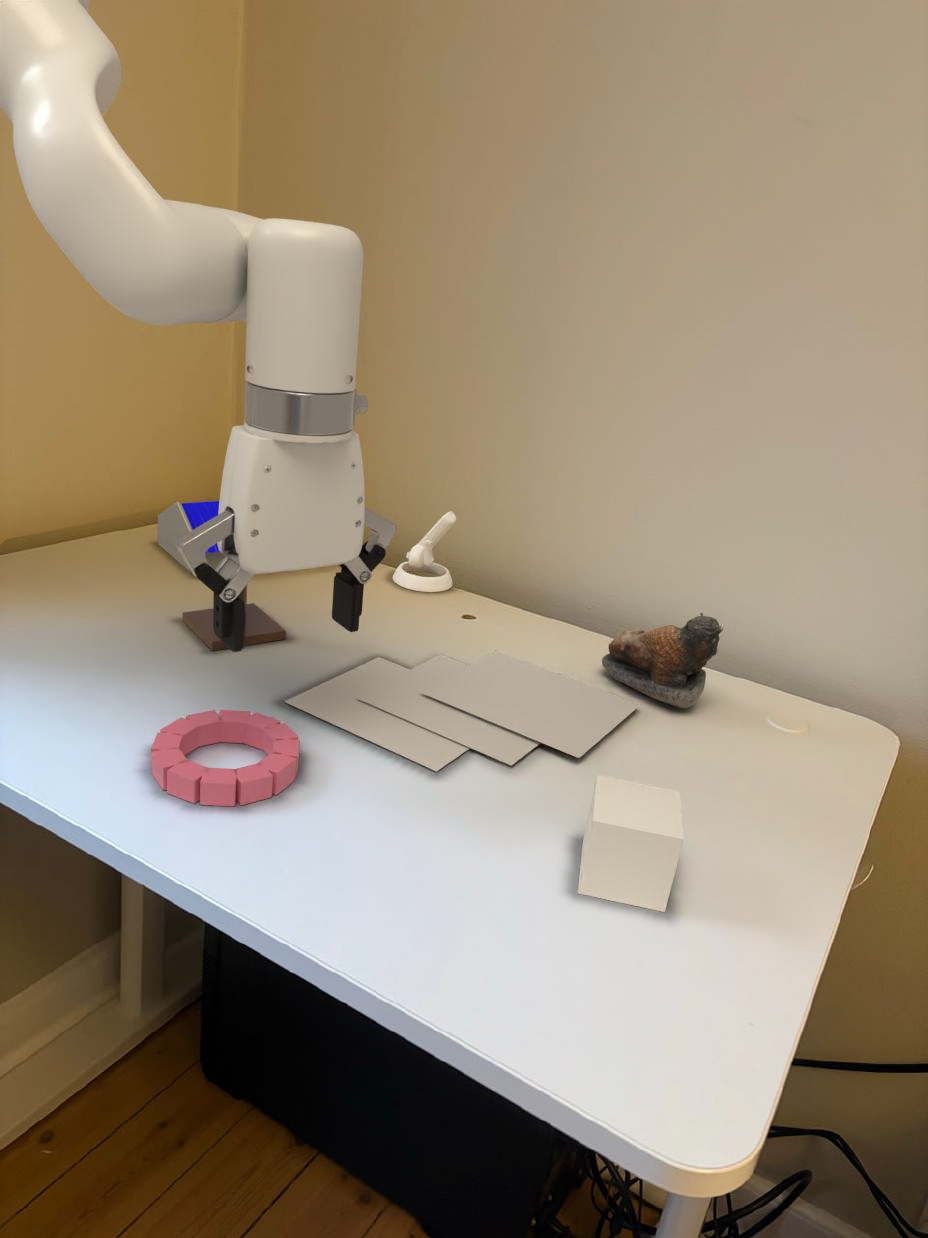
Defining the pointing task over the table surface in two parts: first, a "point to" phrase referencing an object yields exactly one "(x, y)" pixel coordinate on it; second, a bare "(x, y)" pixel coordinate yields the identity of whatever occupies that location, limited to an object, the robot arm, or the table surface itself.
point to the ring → (222, 782)
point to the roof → (186, 528)
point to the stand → (255, 625)
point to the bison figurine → (665, 659)
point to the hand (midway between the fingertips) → (289, 634)
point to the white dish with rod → (426, 561)
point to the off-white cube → (631, 843)
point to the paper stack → (466, 708)
